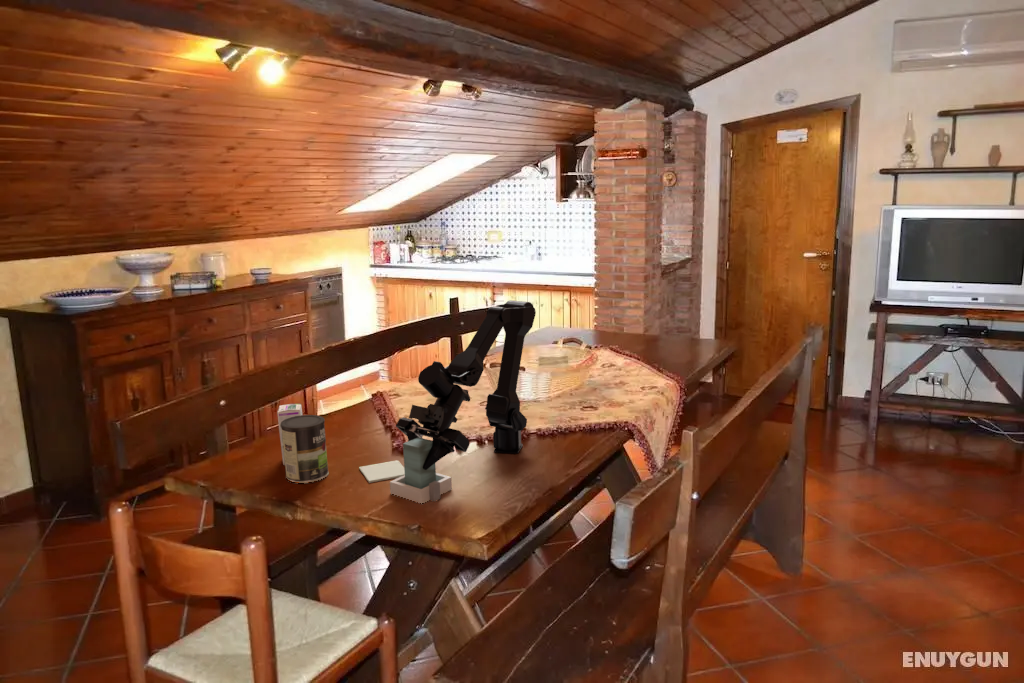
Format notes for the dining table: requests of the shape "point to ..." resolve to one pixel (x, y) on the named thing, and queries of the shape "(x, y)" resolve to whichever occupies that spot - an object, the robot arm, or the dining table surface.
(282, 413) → the syrup box
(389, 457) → the dining table surface
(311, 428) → the coffee can
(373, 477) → the mat
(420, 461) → the post
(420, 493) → the collar
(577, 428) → the dining table surface
